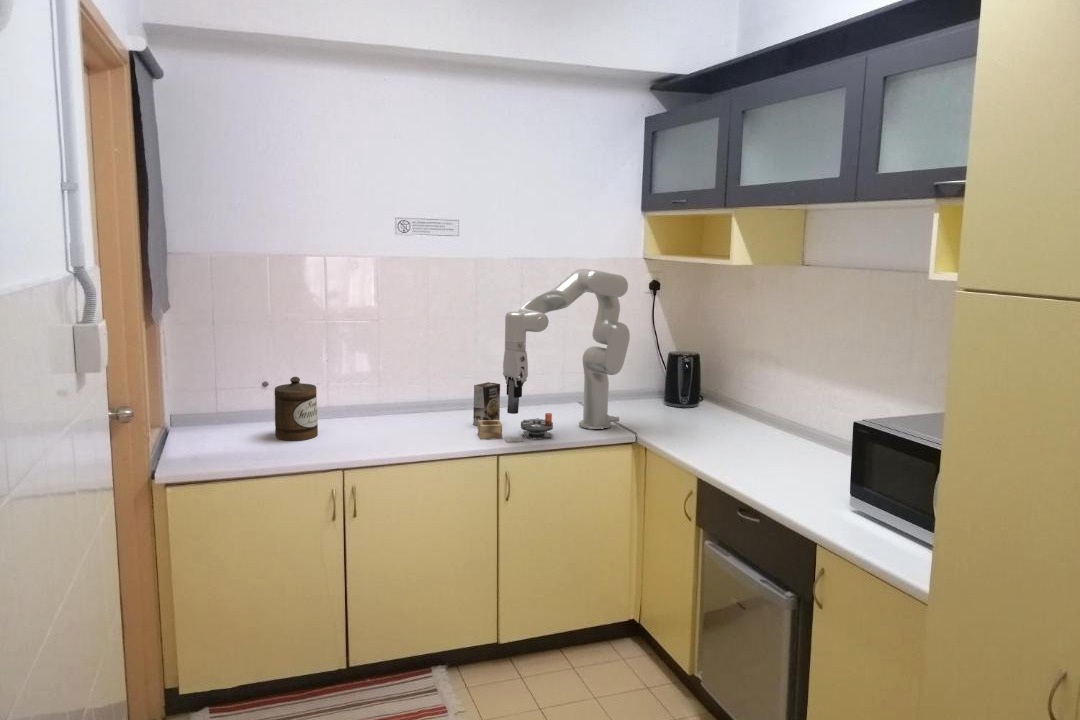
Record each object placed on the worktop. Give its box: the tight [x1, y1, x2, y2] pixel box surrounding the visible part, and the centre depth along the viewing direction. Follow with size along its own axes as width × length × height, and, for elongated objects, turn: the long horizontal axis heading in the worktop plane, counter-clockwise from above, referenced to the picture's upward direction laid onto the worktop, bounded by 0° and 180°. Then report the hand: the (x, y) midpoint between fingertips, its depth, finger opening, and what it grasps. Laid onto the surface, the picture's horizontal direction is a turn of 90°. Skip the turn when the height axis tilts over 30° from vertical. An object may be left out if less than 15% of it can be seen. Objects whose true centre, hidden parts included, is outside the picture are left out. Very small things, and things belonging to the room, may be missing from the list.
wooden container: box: [274, 376, 319, 442], centre depth 286 cm, size 15×15×22 cm
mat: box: [504, 436, 524, 443], centre depth 288 cm, size 6×6×1 cm
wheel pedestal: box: [522, 430, 552, 440], centre depth 295 cm, size 9×9×3 cm
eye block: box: [477, 420, 503, 440], centre depth 292 cm, size 8×8×5 cm
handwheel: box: [520, 412, 554, 432], centre depth 294 cm, size 12×12×6 cm
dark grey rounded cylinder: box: [506, 379, 520, 415], centre depth 285 cm, size 4×4×12 cm
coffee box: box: [472, 381, 501, 427], centre depth 308 cm, size 9×6×16 cm
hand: (514, 395), depth 285 cm, fingers closed on dark grey rounded cylinder, 4 cm apart
